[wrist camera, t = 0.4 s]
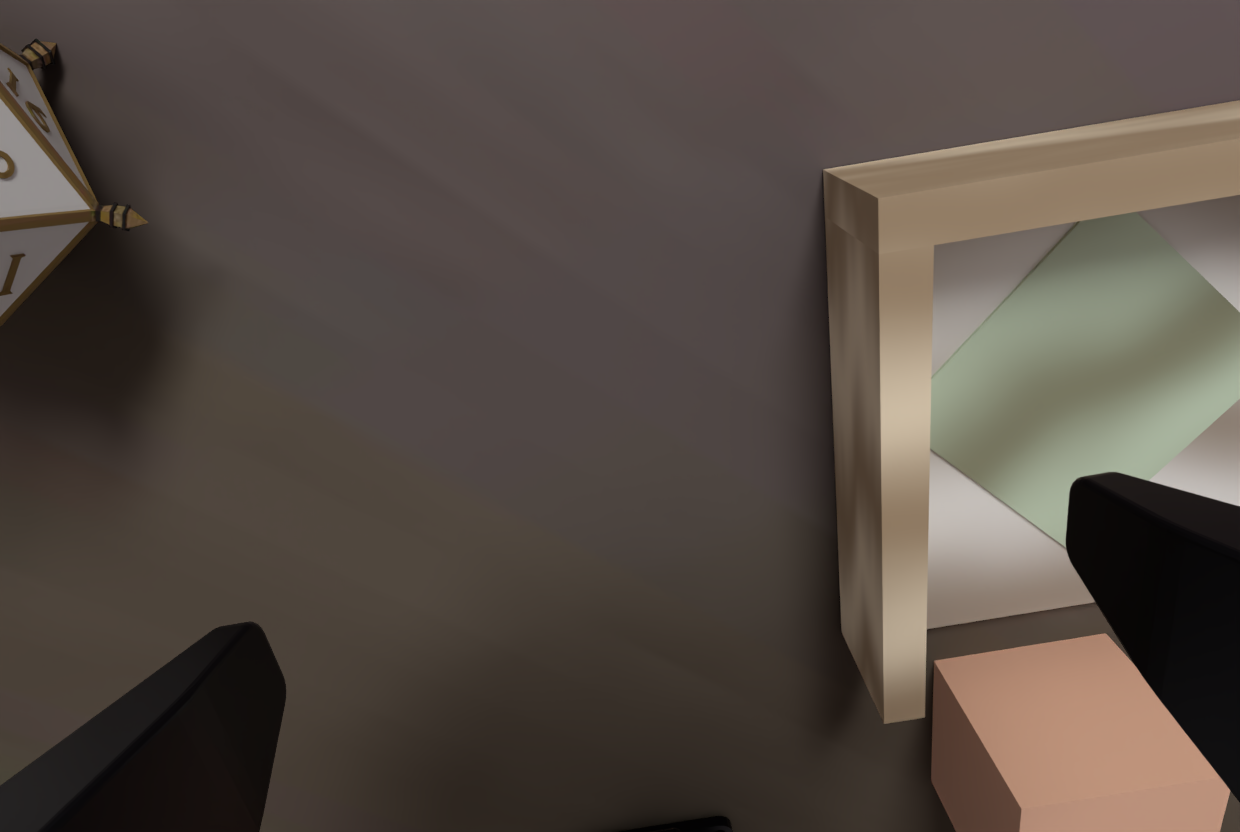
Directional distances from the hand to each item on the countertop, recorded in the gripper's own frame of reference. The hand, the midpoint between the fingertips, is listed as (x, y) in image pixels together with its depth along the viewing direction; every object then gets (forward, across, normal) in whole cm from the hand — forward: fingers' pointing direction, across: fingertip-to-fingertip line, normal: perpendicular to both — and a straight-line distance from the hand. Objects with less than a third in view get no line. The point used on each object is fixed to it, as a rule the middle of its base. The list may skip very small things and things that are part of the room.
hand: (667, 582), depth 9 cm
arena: (+14, -14, +7) cm, 21 cm away
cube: (+14, -12, +19) cm, 26 cm away
